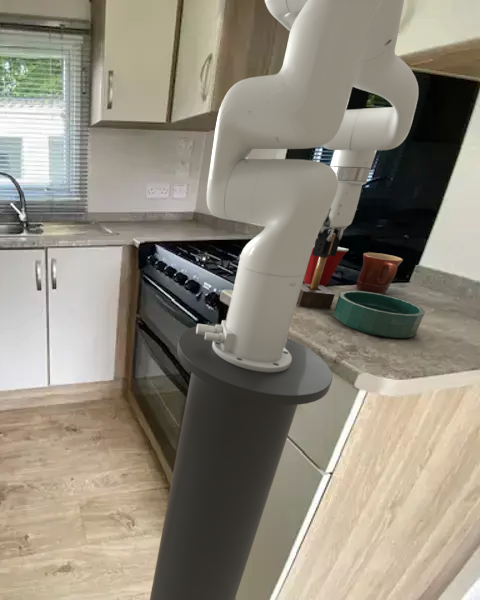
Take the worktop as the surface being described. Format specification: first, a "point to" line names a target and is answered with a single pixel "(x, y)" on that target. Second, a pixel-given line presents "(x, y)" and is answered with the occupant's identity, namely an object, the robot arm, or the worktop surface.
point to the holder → (315, 297)
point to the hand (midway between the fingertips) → (323, 255)
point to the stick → (320, 268)
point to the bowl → (378, 314)
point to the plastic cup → (328, 268)
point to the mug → (377, 272)
